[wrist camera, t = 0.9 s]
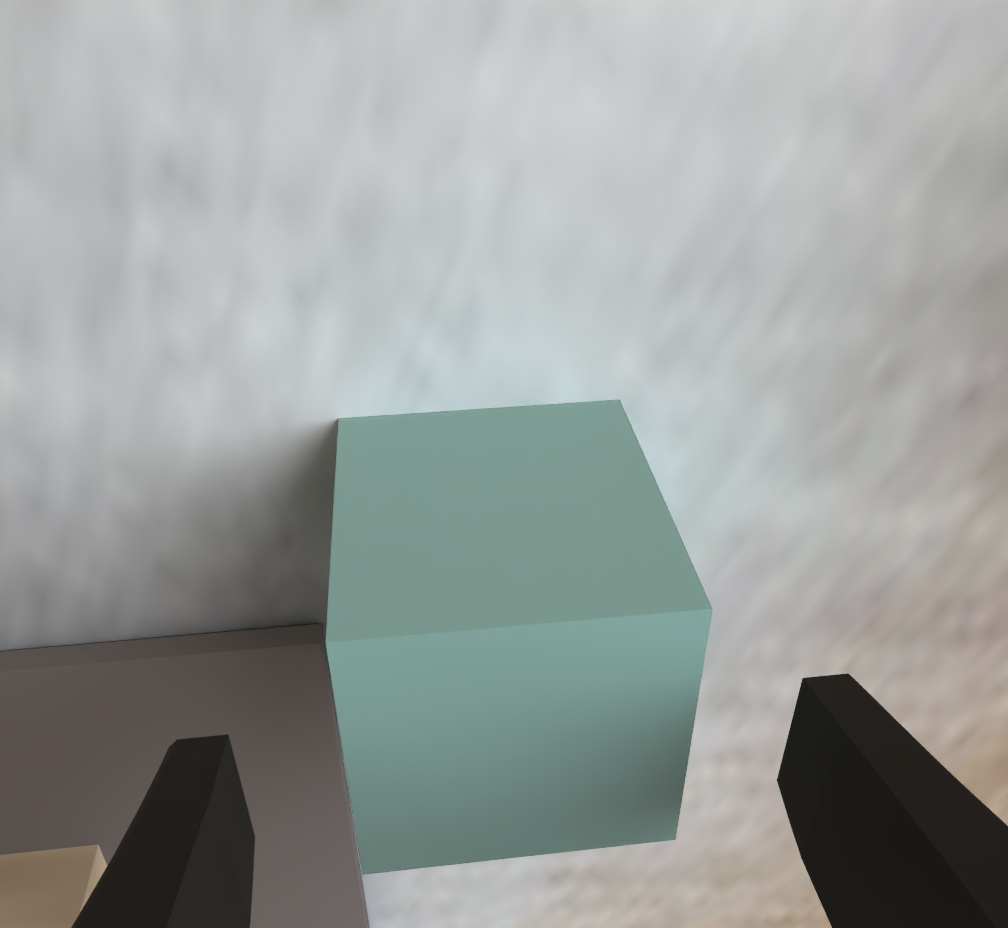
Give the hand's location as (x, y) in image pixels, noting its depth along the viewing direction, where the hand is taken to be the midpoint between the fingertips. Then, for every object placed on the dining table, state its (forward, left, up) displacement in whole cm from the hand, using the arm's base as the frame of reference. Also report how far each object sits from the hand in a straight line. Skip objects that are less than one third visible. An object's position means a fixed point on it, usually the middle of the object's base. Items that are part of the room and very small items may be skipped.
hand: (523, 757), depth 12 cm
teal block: (0, 0, -5) cm, 5 cm away
